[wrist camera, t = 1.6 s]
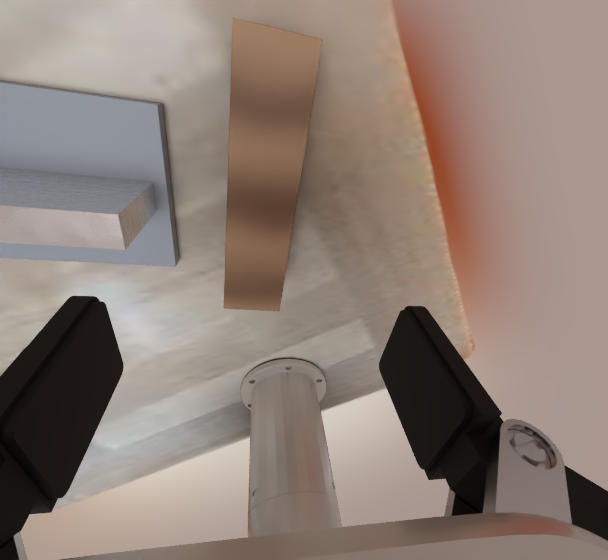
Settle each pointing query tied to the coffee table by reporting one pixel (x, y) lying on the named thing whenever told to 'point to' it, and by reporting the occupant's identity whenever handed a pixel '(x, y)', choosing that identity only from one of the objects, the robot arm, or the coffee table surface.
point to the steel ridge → (72, 209)
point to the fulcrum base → (91, 160)
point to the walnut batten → (265, 157)
